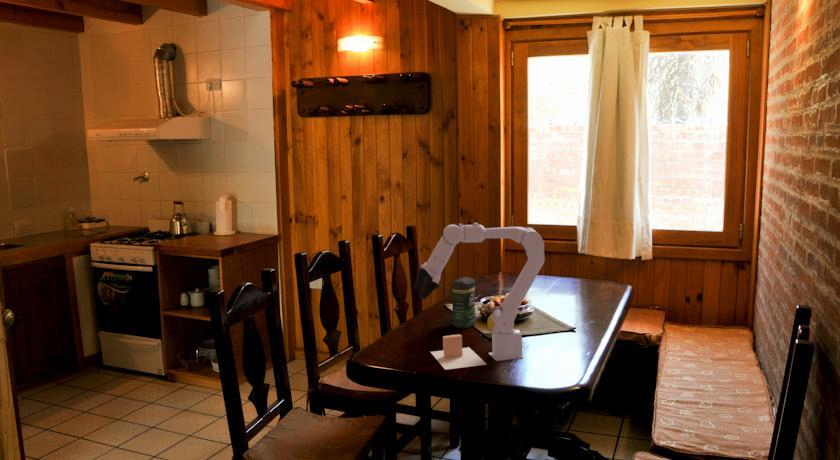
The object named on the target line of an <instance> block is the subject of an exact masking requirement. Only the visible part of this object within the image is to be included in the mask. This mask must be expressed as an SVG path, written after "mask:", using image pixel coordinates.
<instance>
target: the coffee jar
mask: <svg viewBox="0 0 840 460" xmlns="http://www.w3.org/2000/svg"><path fill="white" fill-rule="evenodd" d="M475 290H476V282H475V279H474V278H473V277H468V276H463V277H461V278H458V279H456V280H453V281H452V282H451V293H452V295H451V296H452V315H451V316H452V317H451V318H452V319H451V323H452V326H453V327H456V328H459V329H462V328H470V327H471V326H473V324H474V325H475V324H476V322H477V320H476V305H475Z"/></svg>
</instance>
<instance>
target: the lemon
mask: <svg viewBox="0 0 840 460" xmlns="http://www.w3.org/2000/svg"><path fill="white" fill-rule="evenodd" d="M486 324H487V329H488V330H489V331H490V333H492V328H493V327H494V325H495V324H494V322H493V320H492V314H490V315H489V316H488V318H487V321H486Z"/></svg>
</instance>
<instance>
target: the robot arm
mask: <svg viewBox="0 0 840 460" xmlns="http://www.w3.org/2000/svg"><path fill="white" fill-rule="evenodd" d="M486 239H510V240H512V241H514V242H515V243H518V244H521V246H522V247H523V248H524V250H525V254H526V256H527V260H526V263H525V264H524V265H523V267H522V270H521V271H520V273H519V275H518V277H517V279H516V280H515V282H514V283H513V285H512V287H511V289H510V291H509V292H508V294H507V296H506V298H505V299H504V301H502V302H501V304H500V305H499V306H498V307H497V308H496V309H494V310H493V312H492V313H491V315H492V320H493V322H494V324H495V325H494V327H493V328H492V332H491V341H492V342H491V343H492V349H491V350H492V351H491V352H488V355H489V356H490V357H492V358H493V360H495V361H496V362H498V361H506V360H516V359H523V358H524V356H523V336H522V332H521V330H520V329H518V328H516V329H514V326H515V320H516V318H517V315H518V311H519V309H520V306H521V304H522V302H523V301H524V299H525V297H526V296H527V294H528V292H529V291H530V288H531V286H532V285H533V282H534V281H535V279H536V278H537V276H538V274H539V273H540V271H541V269H542V268H543V266H544V263H545V261H546V260H545V258H546V257H545V242H544V239H543V238H542V235H540V233H539V232H537V231H536V229H534V228H533V227H531V226H528V227H525V226H524V227H523V226H507V227H506V226H505V227H503V226H502V227H486V228H485V226H484V225H482V224H479V223H478V222H474V223H473V224H463V223H458V225H457V224H455V223H454V224H453V223H452V224H448V225H447V226H445V227H444V228H443V231H442V236H441V237H440V238H439V241H437V243H436V245H435V246H434V249H433V250H432V252H431V253H430V256H429V258H428V260H427V261H425V262H423V264H421V265H420V267H419V266H418V267H417V276H416V280H415V283H414V286H413V289H414V290H415V291H418V292H420V293H419V295H418V297H419V298H420V299H423V300H424V301H425V300H426V299H427V298H428V297H429V296H430V295H431V294H432V293H433V292H434V291H435V290H436V289H438V288H439V287H441V284H440V281H441V274H442V272H443V270H444V268H445V267H446V265H447V263H448V261H449V259H450V258H451V256H452V254H453V252H454V249H455V247H456V246H457V245H458V244H459V243H462V244H463V243H465V244H466V243H483V241H484V240H486Z"/></svg>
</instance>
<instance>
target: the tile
mask: <svg viewBox="0 0 840 460" xmlns="http://www.w3.org/2000/svg"><path fill="white" fill-rule="evenodd" d="M442 347H443V349H442V350H443V353H444V357H445V358H453V357H461V356H463V354H462V348H463V335H461V334H451V335H444V336H442Z"/></svg>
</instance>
